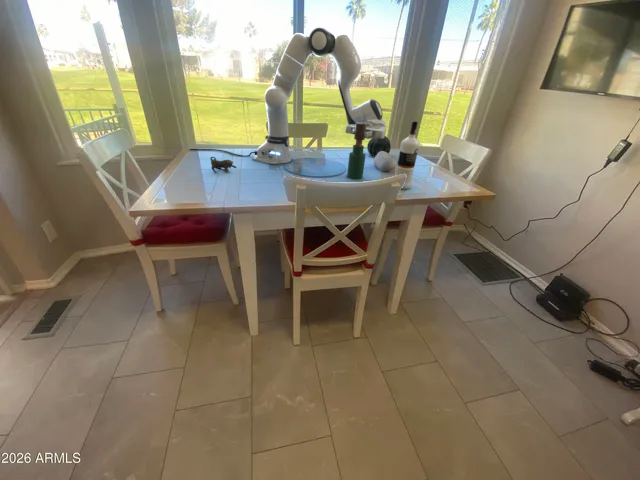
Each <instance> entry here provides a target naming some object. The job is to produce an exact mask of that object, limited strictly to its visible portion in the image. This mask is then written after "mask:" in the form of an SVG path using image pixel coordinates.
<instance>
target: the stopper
mask: <svg viewBox="0 0 640 480" xmlns="http://www.w3.org/2000/svg"><path fill="white" fill-rule="evenodd" d="M366 125H367V123H362V122H357V123H356V124H355V134H353V135H354V136H353V139H354V140H355V144H354V145H355V146H356V147H362V145H363V141H365V140H366V138H365V136H364V133H365V132H366Z"/></svg>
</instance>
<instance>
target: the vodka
mask: <svg viewBox="0 0 640 480" xmlns="http://www.w3.org/2000/svg"><path fill="white" fill-rule="evenodd" d="M418 124H419V121H417V120H412V121H411V124H410V129H409V134H408V136H407V137H405V138H404V139H403V140H401V142H400V146H399V147H400V148H399V154H398V158H397V163H396V165H395V173H394V176H395V175H399V174H404V173H405V174H407V178H406V181H405V184H404V186H403V188H402V189H401V190H409V189H410V188H411V187H412V185H413V182H412V180H413V175H414V170H415V166H416V161H417V157H418V152H419V149H420V147H421V144H420V141H419V139H417V138H416V134H417V129H418Z"/></svg>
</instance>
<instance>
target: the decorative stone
mask: <svg viewBox="0 0 640 480" xmlns="http://www.w3.org/2000/svg"><path fill="white" fill-rule="evenodd" d="M389 154H390V153H389ZM389 154H388V153H387V152H384V151H380V152H379V153H378V154H377V155H376V156H375V157H374V158H373V161H372V163H373V165H374V167H376V168H377V169H378V170H380V171H382V172H389V171H393V170H394V169H396V160H395V158H394V157H392V156H390V155H389Z"/></svg>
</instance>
